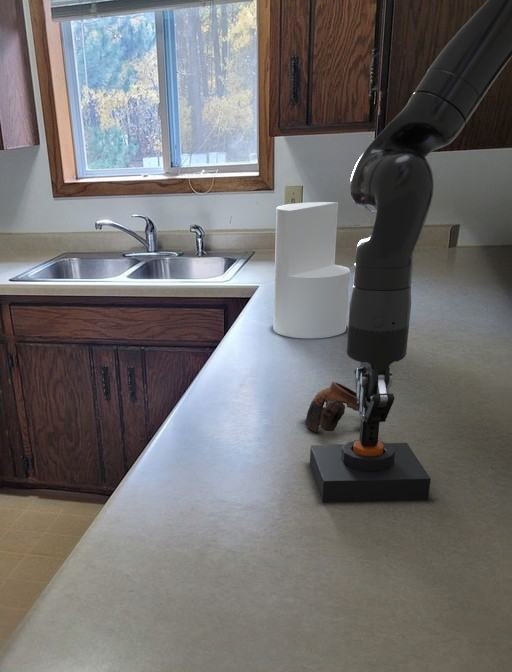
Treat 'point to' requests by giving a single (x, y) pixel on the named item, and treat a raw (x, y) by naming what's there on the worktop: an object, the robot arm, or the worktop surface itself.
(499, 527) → the worktop surface
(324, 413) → the broken clay vessel
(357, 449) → the power button
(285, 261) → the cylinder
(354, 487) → the push button base
